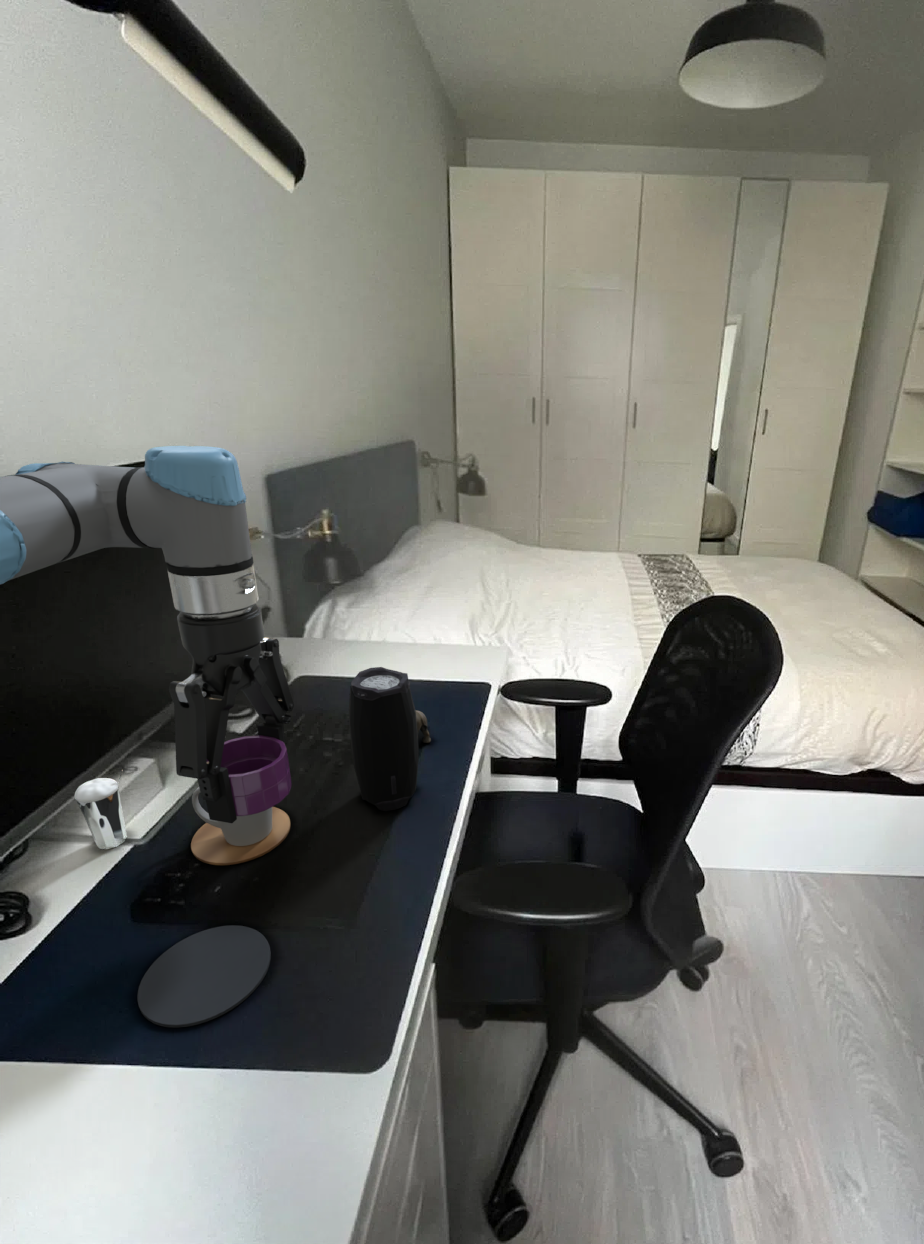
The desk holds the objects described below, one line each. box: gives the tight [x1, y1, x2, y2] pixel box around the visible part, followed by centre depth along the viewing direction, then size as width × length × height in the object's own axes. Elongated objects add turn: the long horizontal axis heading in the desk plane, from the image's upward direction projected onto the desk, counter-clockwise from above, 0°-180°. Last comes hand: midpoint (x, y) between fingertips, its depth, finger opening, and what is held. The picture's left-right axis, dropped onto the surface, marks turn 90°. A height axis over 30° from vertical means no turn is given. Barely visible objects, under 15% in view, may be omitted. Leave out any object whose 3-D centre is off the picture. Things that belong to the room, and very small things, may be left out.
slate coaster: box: [136, 924, 272, 1029], centre depth 65 cm, size 12×12×1 cm
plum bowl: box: [207, 735, 293, 816], centre depth 71 cm, size 9×9×6 cm
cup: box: [191, 786, 272, 846], centre depth 83 cm, size 8×10×8 cm
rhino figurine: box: [415, 709, 432, 744], centre depth 110 cm, size 4×14×6 cm, turn 63°
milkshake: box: [74, 769, 128, 850], centre depth 81 cm, size 4×5×10 cm
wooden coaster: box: [190, 806, 291, 866], centre depth 85 cm, size 12×12×1 cm
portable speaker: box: [348, 666, 420, 812], centre depth 90 cm, size 9×9×20 cm
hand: (251, 794), depth 72 cm, fingers closed on plum bowl, 9 cm apart
